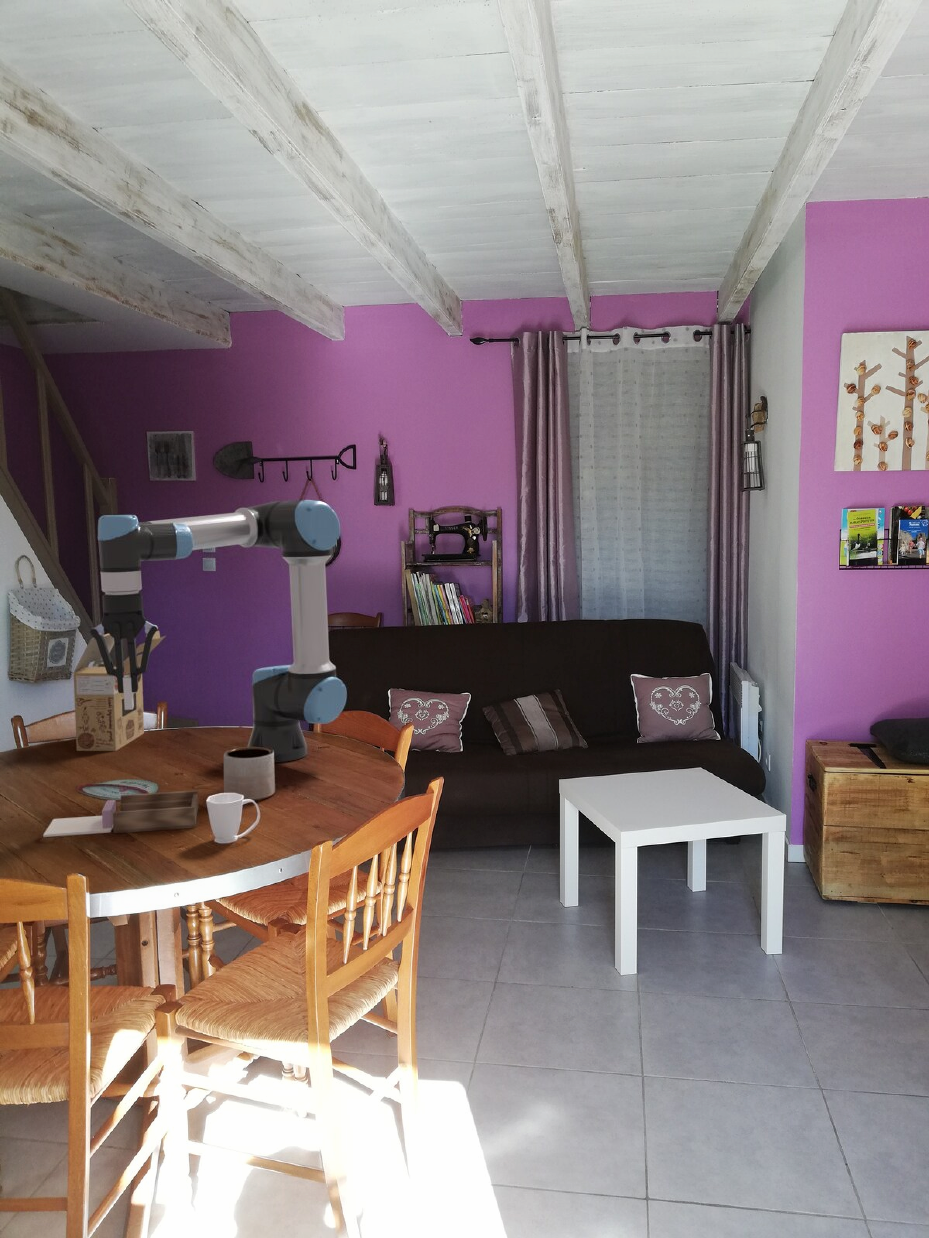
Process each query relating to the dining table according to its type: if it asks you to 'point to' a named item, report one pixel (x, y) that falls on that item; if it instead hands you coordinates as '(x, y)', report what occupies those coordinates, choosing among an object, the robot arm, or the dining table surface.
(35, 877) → the dining table surface
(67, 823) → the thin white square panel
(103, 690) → the box
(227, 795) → the cup
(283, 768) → the dining table surface
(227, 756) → the planter
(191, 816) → the pencil case
